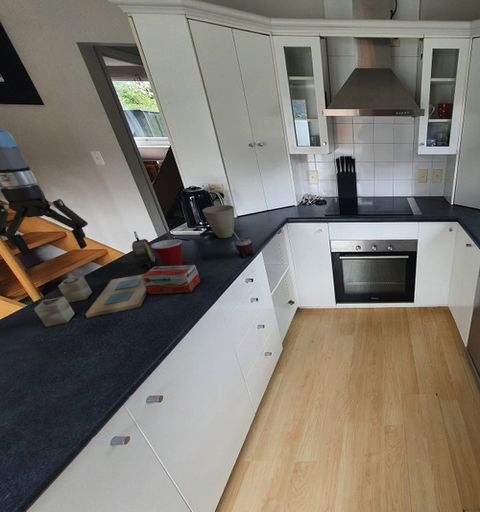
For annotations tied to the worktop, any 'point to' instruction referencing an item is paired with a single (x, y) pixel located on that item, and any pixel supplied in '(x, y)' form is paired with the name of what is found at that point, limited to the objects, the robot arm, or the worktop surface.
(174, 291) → the medicine box
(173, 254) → the plastic cup
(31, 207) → the robot arm
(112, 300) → the beige flat board
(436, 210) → the worktop surface
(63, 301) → the tile
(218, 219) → the plant pot
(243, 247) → the mate gourd
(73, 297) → the tile
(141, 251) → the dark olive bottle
